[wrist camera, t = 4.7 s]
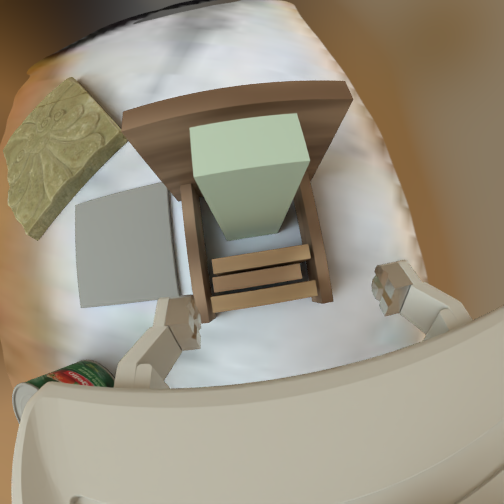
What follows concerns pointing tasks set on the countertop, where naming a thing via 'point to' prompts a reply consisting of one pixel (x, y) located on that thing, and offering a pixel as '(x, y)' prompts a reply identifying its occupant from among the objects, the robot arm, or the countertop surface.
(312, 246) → the walnut rack
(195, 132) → the pale green block
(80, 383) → the canned tomato
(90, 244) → the grey mat
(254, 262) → the offcut stack
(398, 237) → the countertop surface
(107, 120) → the decorative tile
